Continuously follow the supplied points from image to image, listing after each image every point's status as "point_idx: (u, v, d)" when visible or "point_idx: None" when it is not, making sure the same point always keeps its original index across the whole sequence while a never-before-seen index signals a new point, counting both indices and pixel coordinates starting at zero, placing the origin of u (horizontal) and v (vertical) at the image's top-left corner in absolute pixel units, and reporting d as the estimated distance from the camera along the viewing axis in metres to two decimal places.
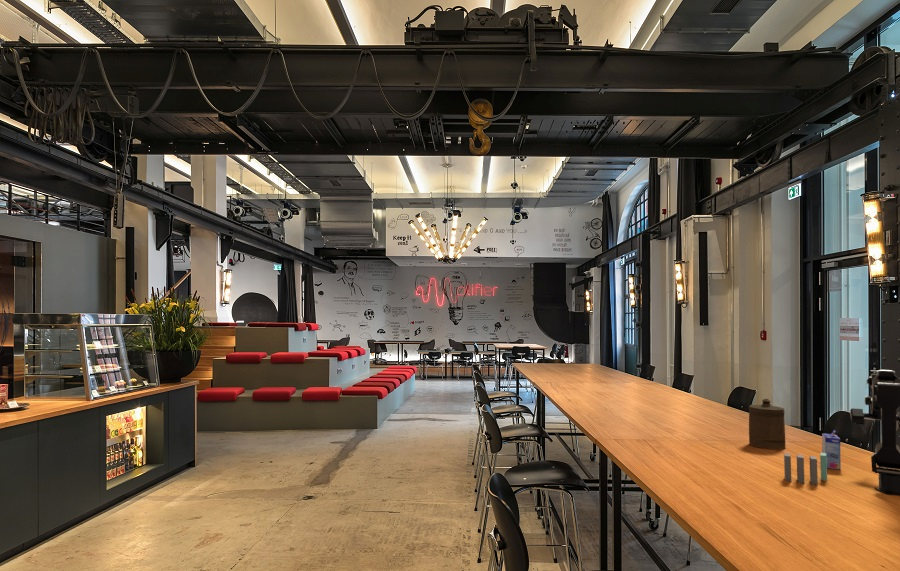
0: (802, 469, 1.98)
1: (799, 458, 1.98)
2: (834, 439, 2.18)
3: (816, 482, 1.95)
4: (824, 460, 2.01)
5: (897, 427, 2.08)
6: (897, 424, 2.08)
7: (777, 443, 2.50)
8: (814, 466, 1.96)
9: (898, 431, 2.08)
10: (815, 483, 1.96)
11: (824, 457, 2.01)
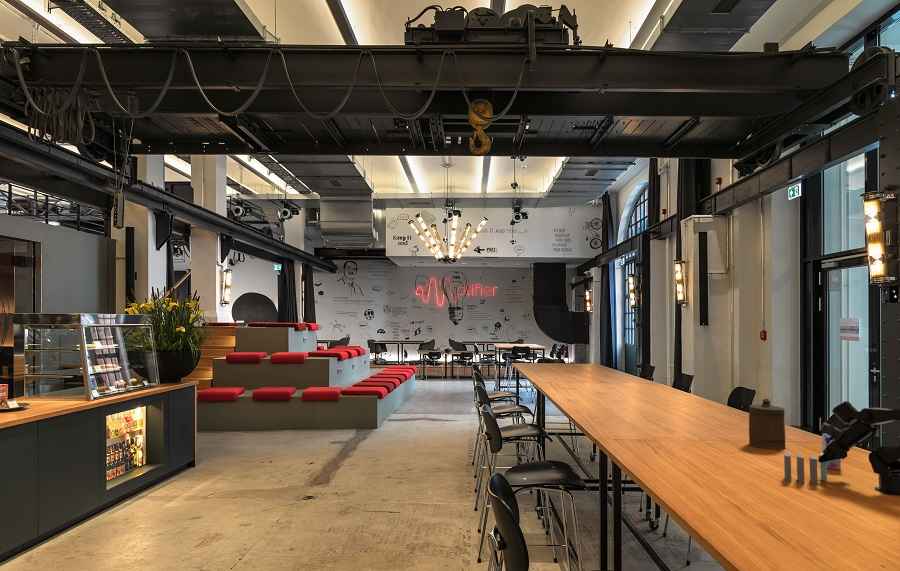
0: (802, 469, 1.98)
1: (799, 458, 1.98)
2: None
3: (816, 482, 1.95)
4: None
5: None
6: None
7: (777, 443, 2.50)
8: (814, 466, 1.96)
9: None
10: (815, 483, 1.96)
11: None
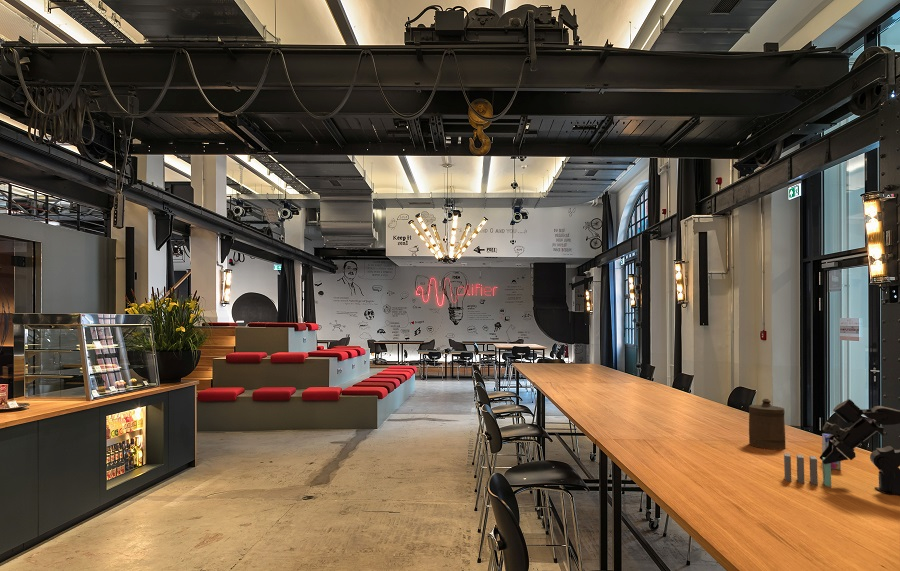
0: (802, 469, 1.98)
1: (799, 458, 1.98)
2: None
3: (816, 482, 1.95)
4: (829, 465, 1.94)
5: None
6: None
7: (777, 443, 2.50)
8: (814, 466, 1.96)
9: None
10: (815, 483, 1.96)
11: None
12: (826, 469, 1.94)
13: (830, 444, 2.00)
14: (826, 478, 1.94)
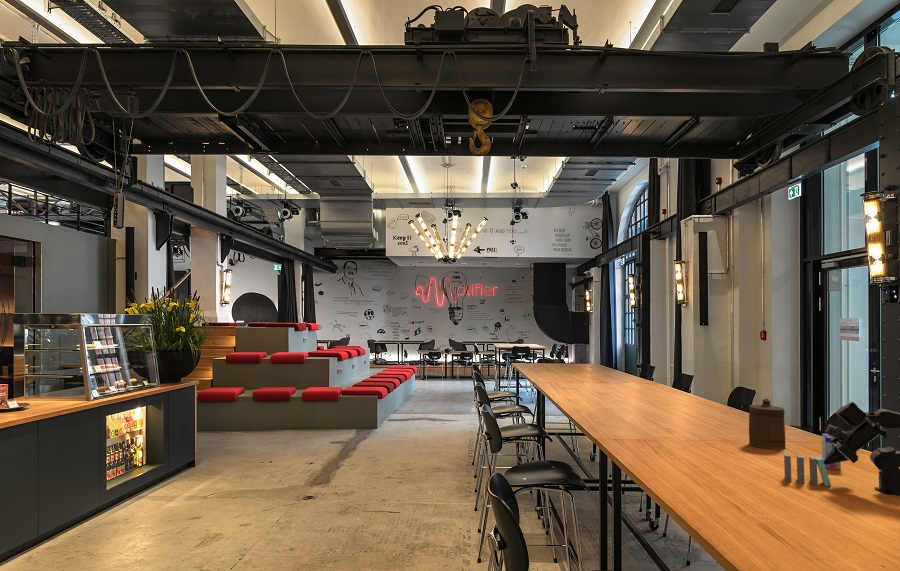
0: (802, 469, 1.98)
1: (799, 458, 1.98)
2: None
3: (816, 482, 1.95)
4: (822, 464, 1.95)
5: None
6: None
7: (777, 443, 2.50)
8: (814, 466, 1.96)
9: None
10: (815, 483, 1.96)
11: (821, 461, 1.95)
12: (821, 469, 1.95)
13: None
14: (824, 478, 1.94)
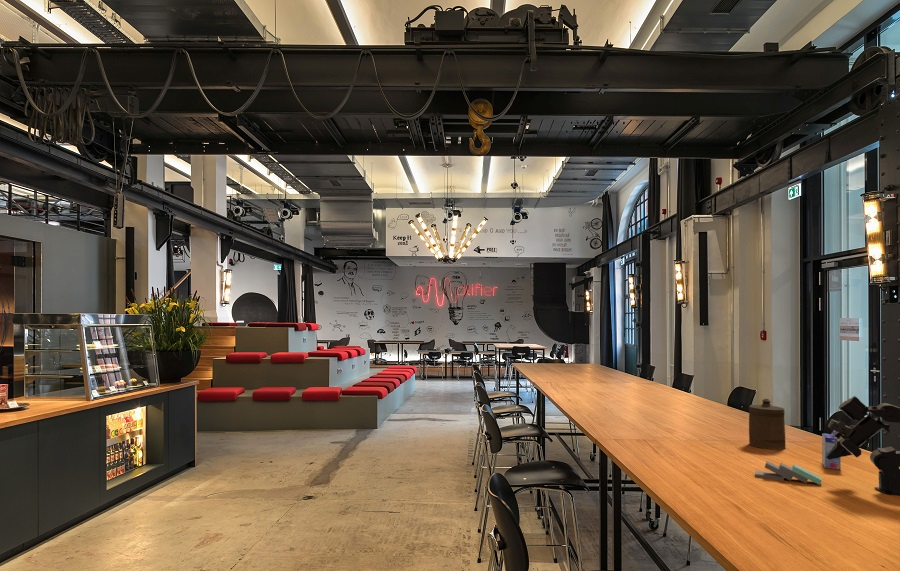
0: (778, 470, 2.01)
1: (766, 466, 2.04)
2: None
3: (805, 478, 1.97)
4: (798, 470, 1.98)
5: None
6: None
7: (777, 443, 2.50)
8: (788, 470, 2.00)
9: None
10: (806, 479, 1.97)
11: (795, 468, 1.98)
12: (802, 474, 1.97)
13: None
14: (811, 479, 1.96)
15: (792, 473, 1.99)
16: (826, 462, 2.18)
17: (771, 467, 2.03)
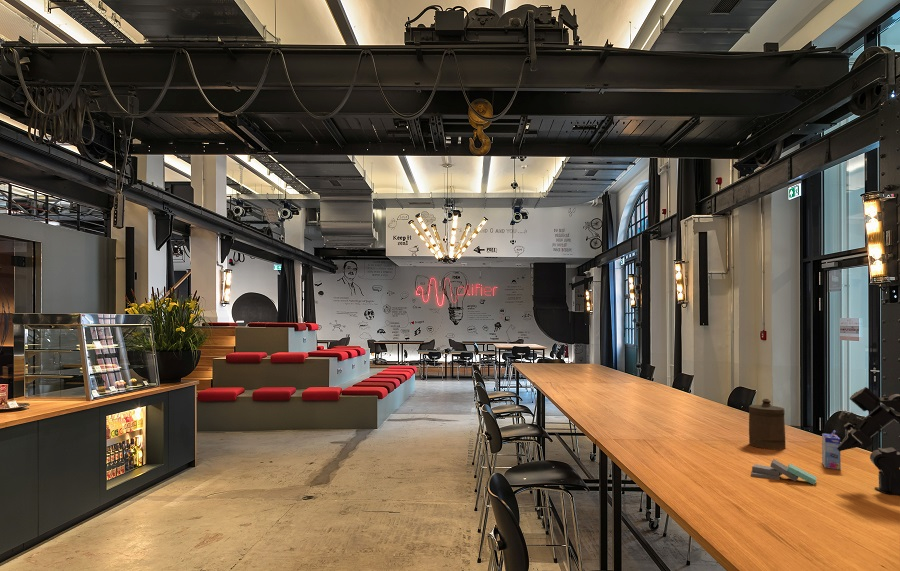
0: (764, 469, 2.05)
1: (753, 470, 2.08)
2: (834, 439, 2.18)
3: (795, 477, 1.99)
4: (793, 470, 1.99)
5: None
6: None
7: (777, 443, 2.50)
8: (778, 468, 2.02)
9: None
10: (796, 478, 1.99)
11: (790, 468, 1.99)
12: (797, 474, 1.98)
13: None
14: (806, 479, 1.96)
15: (783, 471, 2.01)
16: (826, 462, 2.18)
17: (757, 469, 2.07)
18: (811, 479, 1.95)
